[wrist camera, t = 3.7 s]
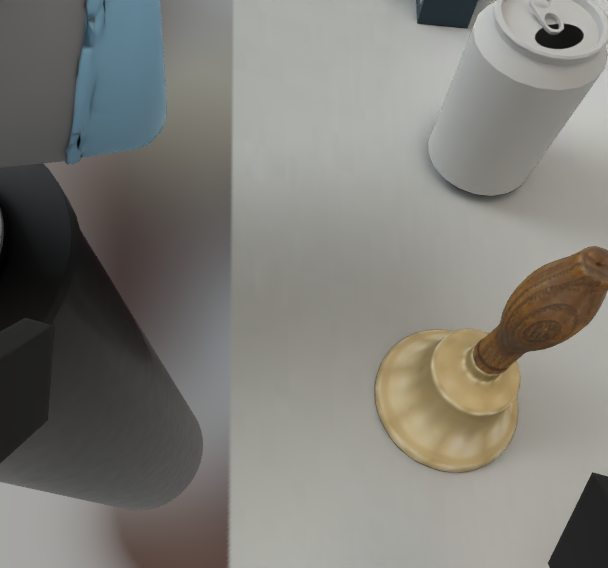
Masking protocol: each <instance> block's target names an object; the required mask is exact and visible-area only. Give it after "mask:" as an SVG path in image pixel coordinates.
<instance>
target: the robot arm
mask: <svg viewBox="0 0 608 568" xmlns="http://www.w3.org/2000/svg"><path fill="white" fill-rule="evenodd" d="M166 102H167V101H166V84H165V67H164V51H163V36H162V23H161V7H160V0H0V168H2V167H11V166H21V165H31V164H41V163H50V162H60V161H65V162H66V164H74V163H76V162H79V161H80V160H81V158H83V157H89V156H96V155H102V154H109V153H116V152H121V151H129V150H135V149H139V148H141V147H144V146H146V145H147V144H149V143H151V141H152V140H153V139H154V138H155V137H156V136H157V135H158V134H159V133H160V132H161V130H162V128H163V125H164V123H165V120H166V114H167V103H166ZM10 242H11V240H10V226H9V221H8V218H7V214H6V212H5V210H4V207H3V205H2V204H1V202H0V279H1V277H2V275H3V272H4V270H5V267H6V264H7V261H8V256H9V251H10ZM53 339H54V325H50V324H46V323H43V322H39V321H35V320H32V319H28V318H24V319H22V320H20V321H18V322H17V323H15V324H13V325H11V326H9V327H8V328H6V329H4V330H2V331H1V332H0V463H1V462H2V461H3V460H4V459H5V458H6V457H8V456H9V455H10V454H11V453H12V452H13V451H14V450H15V449H16V448H18V447H19V446H20V445H21V444H22V443H23V442H24V441H25V440H26V439H27V438H29V437H30V436H31V435H32V434H33V433H34V432H35V431H36V430H37V429H39V428H40V427H41V426H42V425H43V424H44V423H45V422H46V421H47V420H48V409H49V395H50V381H51V367H52V353H53ZM548 564H549V567H550V568H608V477H607V476H604V475H600V474H596V473H593V472H592V474H591V476H590V478H589V480H588V482H587V484H586V486H585V489H584V491H583V493H582V495H581V497H580V499H579V501H578V503H577V505H576V507H575V509H574V511H573V513H572V515H571V517H570V519H569V521H568V523H567V525H566V527H565V529H564V531H563V533H562V535H561V537H560V540H559V542H558V544H557V546H556V548H555V550H554V552H553V554H552V556H551V558H550V560H549V562H548Z"/></svg>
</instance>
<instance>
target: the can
mask: <svg viewBox="0 0 608 568" xmlns="http://www.w3.org/2000/svg"><path fill="white" fill-rule="evenodd" d="M607 43H608V16H607V15H606V13H605V12H604V11H603V9H602V8H601V6H600V5H599V4H598V3H597V2H596V1H594V0H496V2H494V3H491V4H489V5H488V6H487V7H486V8H485V9H484V10H482V11H481V12H480V13H479V14H478V16H477V19H476V21H475V24H474V27H473V29H472V32H471V34H470V37H469V39H468V42H467V44H466V47H465V49H464V52H463V54H462V57H461V60H460V62H459V65H458V67H457V70H456V72H455V75H454V77H453V80H452V82H451V85H450V88H449V90H448V93H447V95H446V98H445V100H444V103H443V105H442V108H441V110H440V113H439V116H438V118H437V121H436V123H435V126H434V128H433V131H432V133H431V136H430V138H429V141H428V146H429V156H430V158H431V160H432V163H433V165H434V167H435V168H436V169H437V171H438V172H439V173H440V174H441V175H442V176H443V178H444V179H446V180H447V181H449V182H450V183H452V184H453V185H455V186H456V187H458V188H459V189H462V190H465V191H468V192H471V193H473V194H479V195H489V196H494V195H499V194H505V193H509V192H510V191H512V190H514V189H516V188H518V187H520V186H521V185H522V183H523V182H524V181H525V180H526V179H527V177H528V176H529V175H530V173H531V172H532V171H533V169H534V168H535V166H536V165H537V163H538V162H539V161H540V159H541V158H542V156H543V155H544V154H545V152H546V151H547V149H548V148H549V146H550V145H551V144H552V142H553V141H554V139H555V138H556V137H557V135H558V134H559V132H560V131H561V129H562V128H563V127H564V125H565V124H566V122H567V121H568V120H569V118H570V117H571V115H572V114H573V112H574V111H575V110H576V108H577V107H578V105H579V104H580V103H581V101H582V100H583V98H584V97H585V95H586V94H587V93H588V91H589V90H590V88H591V87H592V86H593V84H594V83H595V81H596V80H597V78H598V77H599V76H600V74H601V73H602V71H603V70H604V69H605V64H606V59H607V51H606V47H605V45H606V44H607Z"/></svg>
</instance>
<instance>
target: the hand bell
mask: <svg viewBox="0 0 608 568" xmlns="http://www.w3.org/2000/svg"><path fill="white" fill-rule="evenodd" d="M607 291H608V251H607V250H606V249H604V248H600V247H597V246H593V247H588V248H585V249H583V250H581V251H580V252H578V253H576V254H574V255H571V256H569V257H566V258H562V259H559V260H556V261H553V262H551V263H549V264H546V265H544V266H542V267H540V268H539V269H537V270H535V271H534V272H533V273H531V274H530V275H529V276H528V277H527V278H526V279H525V280H524V281H523V282H522V283H521V284H520V285H519V286H518V287H517V288H516V289H515V291H514V292H513V294H512V295H511V296H510V298H509V300H508V301H507V304H506V306H505V308H504V310H503V313H502V317H501V321H500V324H499V325H498V326H497V327H496V328H495V329H494V330H493V331H492V332H490V333H486V332H484V331H481V330H474V329H463V330H458V331H455V332H454V331H449V330H426V331H421V332H418V333H415V334H412V335H410V336H407V337H406V338H404V339H402V340H401V341H400V342H398V343H397V344H396V345H395V346H393V347H392V349H391V350H390V351H389V352H388V353H387V355H386V356H385V358H384V359H383V361H382V363H381V365H380V368H379V371H378V374H377V378H376V386H375V397H376V405H377V410H378V413H379V416H380V419H381V421H382V423H383V425H384V427H385V429H386V431H387V433H388V434H389V436H390V437H391V438H392V440H393V441H394V442H395V444H396V445H397V446H398V447H399V448H400V449H401V450H402V451H403V452H404V453H406V454H407V455H408V456H410V457H411V458H413V459H414V460H416V461H418V462H419V463H421V464H423V465H426V466H428V467H431V468H434V469H437V470H441V471H447V472H465V471H471V470H475V469H478V468H481V467H483V466H485V465H487V464H489V463H490V462H492V461H493V460H495V459H496V458H497V457H498V456H500V454H501V453H502V452H503V451H504V450H505V449H506V447H507V446H508V444H509V443H510V441H511V439H512V437H513V435H514V432H515V430H516V426H517V421H518V399H517V393H518V390H519V386H520V371H519V367H518V364H517V361H516V360H517V359H518V358H520V357H521V356H522V355H523V354H524V353H526V352H529V351H536V350H542V349H547V348H550V347H553V346H555V345H557V344H560V343H562V342H564V341H565V340H567V339H569V338H570V337H572V336H573V335H575V334H576V333H578V332H579V331H580V330H582V329H583V328H584V327H585V326H586V325H588V324H589V322H590V321H591V320H592V319H593V318H594V316H595V315H596V313H597V312H598V310H599V308H600V306H601V304H602V302H603V300H604V298H605V295H606V293H607Z"/></svg>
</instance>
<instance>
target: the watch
mask: <svg viewBox="0 0 608 568" xmlns="http://www.w3.org/2000/svg"><path fill="white" fill-rule="evenodd" d="M416 2H417V23H420V24H430V25H440V26H451V27H461V28H468V25H469V23H470V20H471V17H472V15H473V12H474V9H475V7H476V4H477V2H478V0H416Z"/></svg>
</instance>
